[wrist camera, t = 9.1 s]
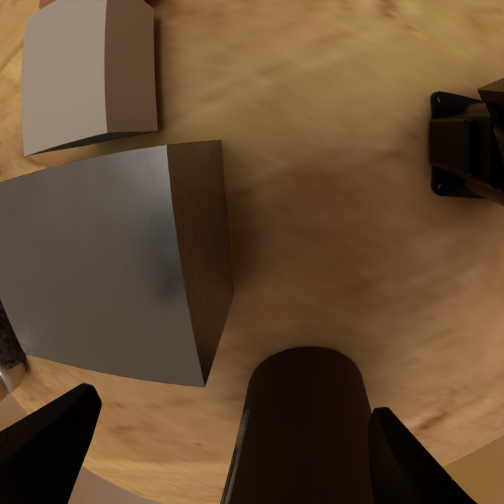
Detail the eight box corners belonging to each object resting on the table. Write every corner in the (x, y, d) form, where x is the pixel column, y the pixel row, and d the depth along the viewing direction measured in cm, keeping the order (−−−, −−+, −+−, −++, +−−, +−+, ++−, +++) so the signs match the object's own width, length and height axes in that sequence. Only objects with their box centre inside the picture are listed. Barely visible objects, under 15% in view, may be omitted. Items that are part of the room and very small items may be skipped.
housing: (220, 139, 17) (166, 144, 9) (233, 295, 20) (204, 387, 12) (61, 165, 18) (-29, 192, 10) (88, 290, 22) (24, 352, 14)
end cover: (167, -64, 11) (130, -110, 5) (169, 129, 16) (111, 130, 10) (87, -34, 11) (37, -63, 5) (82, 146, 17) (12, 159, 11)
